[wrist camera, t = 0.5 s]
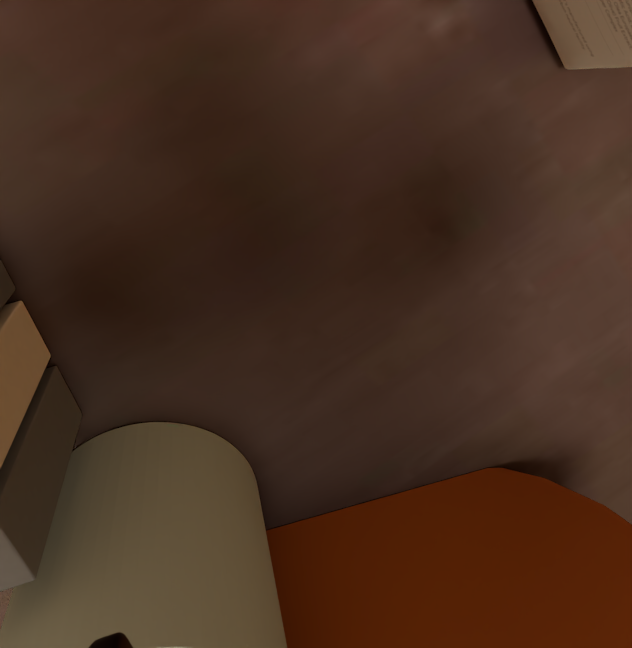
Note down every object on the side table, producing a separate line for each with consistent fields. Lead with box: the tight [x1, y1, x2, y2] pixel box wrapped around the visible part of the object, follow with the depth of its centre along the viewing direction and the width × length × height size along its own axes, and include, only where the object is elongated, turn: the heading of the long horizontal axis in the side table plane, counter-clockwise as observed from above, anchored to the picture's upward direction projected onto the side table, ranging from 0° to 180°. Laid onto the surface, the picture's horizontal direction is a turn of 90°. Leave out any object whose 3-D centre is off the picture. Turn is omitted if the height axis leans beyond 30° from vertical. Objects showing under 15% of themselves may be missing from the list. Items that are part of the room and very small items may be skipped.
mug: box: [0, 422, 287, 648], centre depth 21 cm, size 14×9×10 cm
